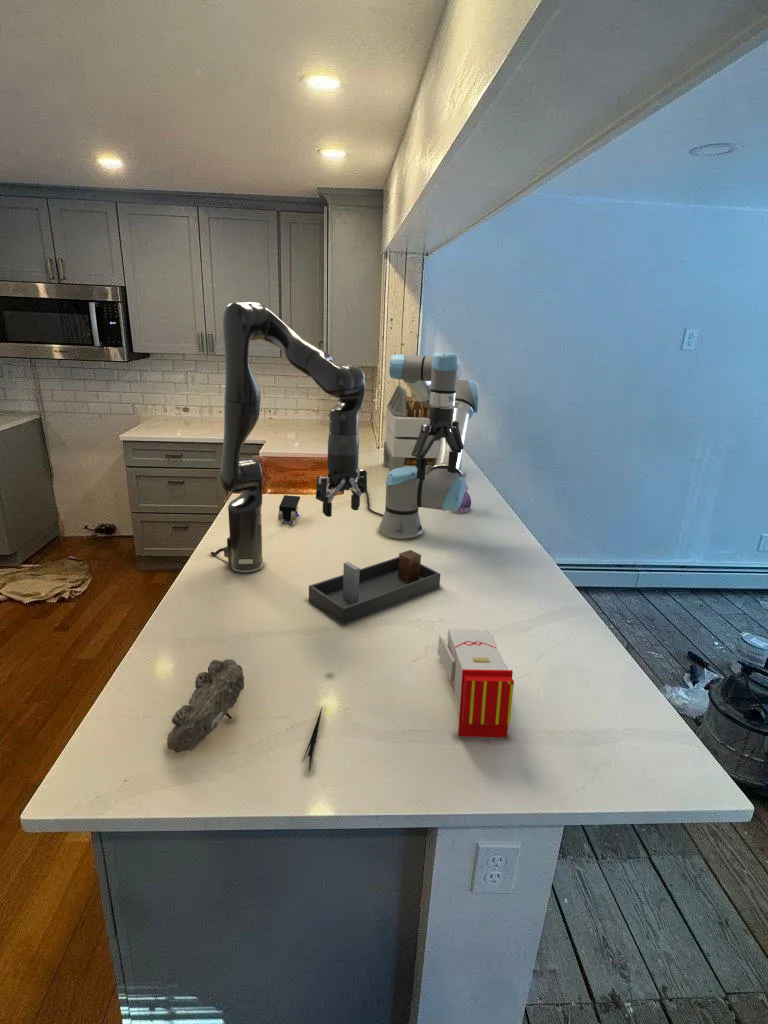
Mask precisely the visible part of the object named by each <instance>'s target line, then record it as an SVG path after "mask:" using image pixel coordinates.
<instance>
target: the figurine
mask: <svg viewBox="0 0 768 1024" xmlns="http://www.w3.org/2000/svg"><path fill="white" fill-rule="evenodd" d="M462 475H463V477H462V478H465V480H466V481H467V472H463V473H462ZM468 490H469V487H468V484H467V483H466V486H465V491H464V496H463V499H462V502H461V505H460V507H459V508H458V509H457V510H456V511H452V512H453V513H456V514H463V513H468V512H469V511H470V510H471V506H472V498H471V496H470V493H469V492H468Z"/></svg>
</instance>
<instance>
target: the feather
mask: <svg viewBox="0 0 768 1024" xmlns="http://www.w3.org/2000/svg"><path fill="white" fill-rule="evenodd" d="M329 675H330V676H331V675H332V674H331V673H330V674H329ZM322 710H323V707H321V708H320V710H319V713H318V716H317V719H316V723H315V725H314V728H313V731H312V733H311V737H310V739H309V742H308V745H307V748H306V751H305V754H304V757H303V760H302V763H301V767H302V765H303V763H304V761H305V758H308V759H309V760H308V762H307V763H308V764H307V766H308V771H310V770H311V766H312V765H311V764H312V760H313V757H315V756H314V755H315V751H316V749H315V746H317V739H318V733H319V729H320V722H321V717H322V712H323V711H322ZM313 754H314V755H313ZM306 755H307V757H306Z"/></svg>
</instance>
